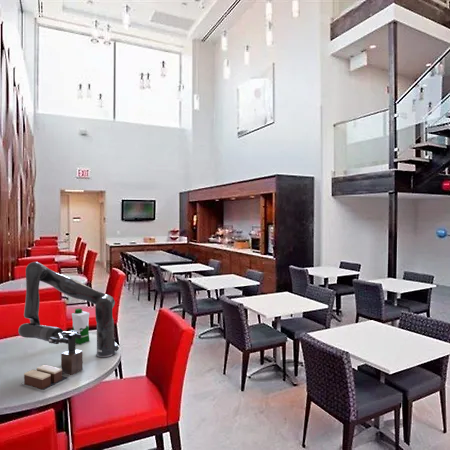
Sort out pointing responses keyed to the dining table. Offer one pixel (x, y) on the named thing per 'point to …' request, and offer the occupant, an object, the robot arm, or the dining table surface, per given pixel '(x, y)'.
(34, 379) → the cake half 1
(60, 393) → the dining table surface
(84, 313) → the milk carton
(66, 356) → the knife block
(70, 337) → the knife
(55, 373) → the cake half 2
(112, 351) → the robot arm
